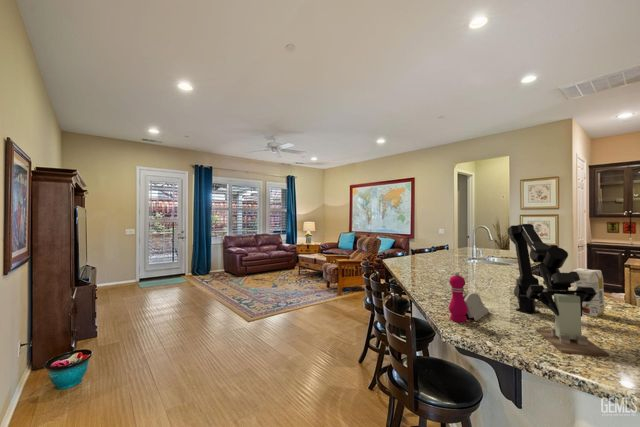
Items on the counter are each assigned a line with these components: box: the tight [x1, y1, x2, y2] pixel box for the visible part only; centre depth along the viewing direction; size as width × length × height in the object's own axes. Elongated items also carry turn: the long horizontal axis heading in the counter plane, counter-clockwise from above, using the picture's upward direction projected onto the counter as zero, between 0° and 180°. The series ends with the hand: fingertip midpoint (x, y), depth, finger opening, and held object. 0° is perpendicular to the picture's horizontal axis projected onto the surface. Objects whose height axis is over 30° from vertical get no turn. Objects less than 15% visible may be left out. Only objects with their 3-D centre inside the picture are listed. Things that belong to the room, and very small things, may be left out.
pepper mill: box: [448, 271, 468, 323], centre depth 120 cm, size 7×7×20 cm
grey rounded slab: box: [463, 292, 490, 322], centre depth 127 cm, size 17×5×10 cm, turn 133°
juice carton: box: [572, 267, 605, 318], centre depth 124 cm, size 8×9×19 cm
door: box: [553, 294, 583, 339], centre depth 97 cm, size 3×6×14 cm, turn 73°
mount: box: [535, 327, 610, 358], centre depth 97 cm, size 18×12×3 cm, turn 164°
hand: (569, 315), depth 95 cm, fingers closed on door, 6 cm apart
